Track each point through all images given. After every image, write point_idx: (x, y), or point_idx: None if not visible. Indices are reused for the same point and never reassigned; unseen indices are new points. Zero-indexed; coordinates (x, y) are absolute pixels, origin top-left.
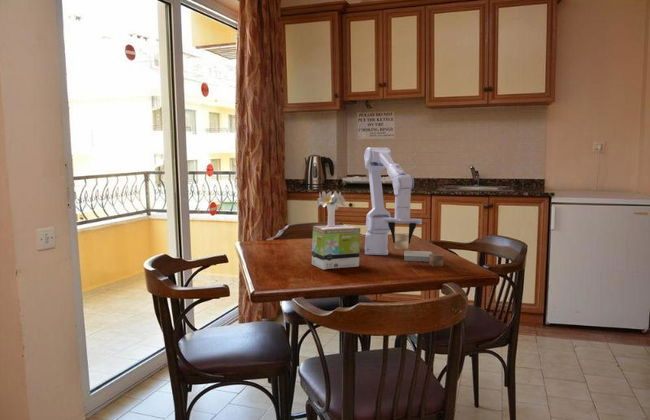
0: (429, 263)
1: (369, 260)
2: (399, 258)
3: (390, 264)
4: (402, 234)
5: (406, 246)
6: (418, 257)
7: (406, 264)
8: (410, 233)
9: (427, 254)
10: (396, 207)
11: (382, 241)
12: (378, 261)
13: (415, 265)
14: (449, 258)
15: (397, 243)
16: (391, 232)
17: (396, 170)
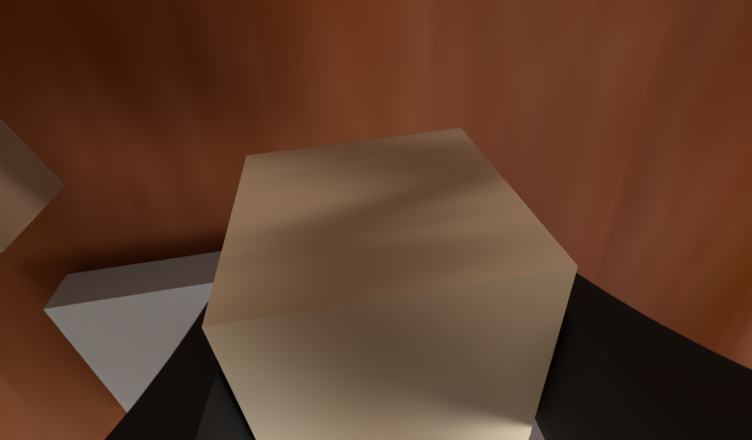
0: (54, 181)
1: (615, 164)
2: None
3: (445, 45)
4: (387, 404)
5: (274, 169)
6: (197, 276)
7: (282, 96)
8: (158, 432)
9: (143, 366)
10: None
11: (534, 437)
12: (546, 149)
13: (176, 73)
14: (12, 406)
15: (444, 170)
16: (696, 345)
17: None
